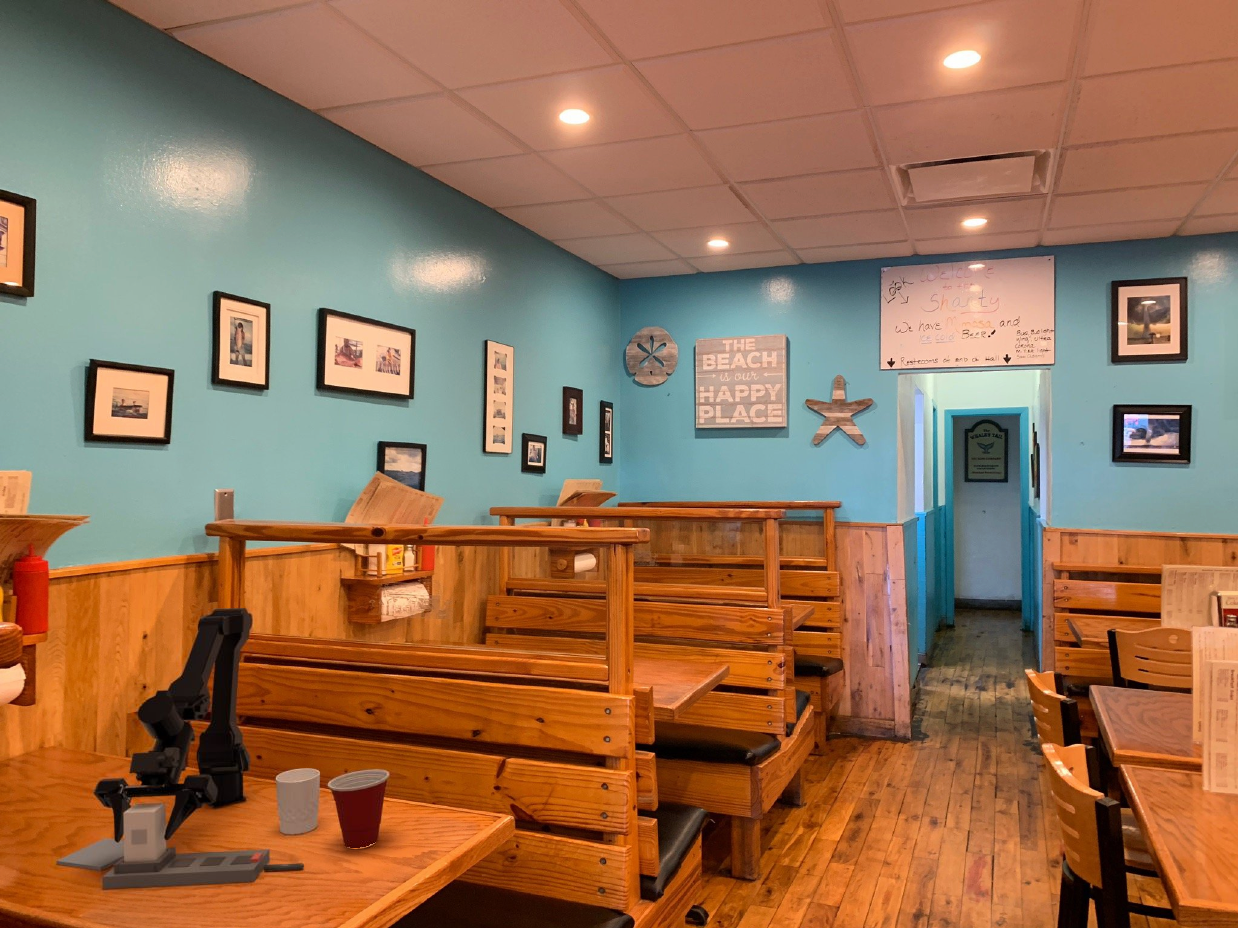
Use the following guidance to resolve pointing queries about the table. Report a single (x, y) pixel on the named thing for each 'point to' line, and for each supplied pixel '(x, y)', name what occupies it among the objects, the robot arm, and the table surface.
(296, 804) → the white cup
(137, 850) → the block
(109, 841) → the pad
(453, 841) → the table surface
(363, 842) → the plastic cup
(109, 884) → the power strip
